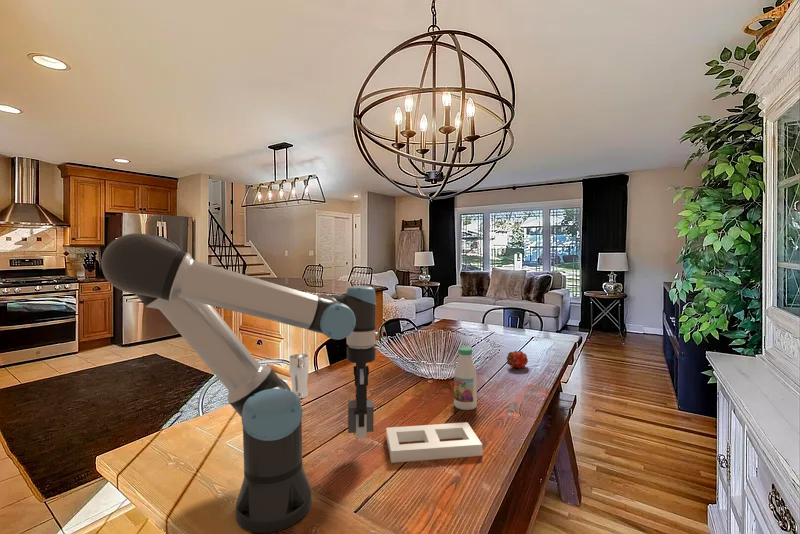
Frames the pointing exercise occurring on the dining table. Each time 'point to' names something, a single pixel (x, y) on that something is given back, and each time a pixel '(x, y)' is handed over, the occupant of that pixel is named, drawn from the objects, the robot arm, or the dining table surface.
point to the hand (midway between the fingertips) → (360, 432)
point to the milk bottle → (465, 381)
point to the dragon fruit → (517, 359)
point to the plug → (352, 417)
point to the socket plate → (432, 442)
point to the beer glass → (299, 374)
